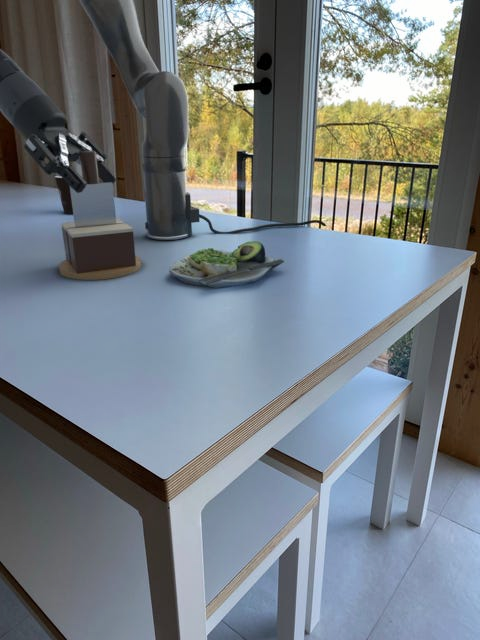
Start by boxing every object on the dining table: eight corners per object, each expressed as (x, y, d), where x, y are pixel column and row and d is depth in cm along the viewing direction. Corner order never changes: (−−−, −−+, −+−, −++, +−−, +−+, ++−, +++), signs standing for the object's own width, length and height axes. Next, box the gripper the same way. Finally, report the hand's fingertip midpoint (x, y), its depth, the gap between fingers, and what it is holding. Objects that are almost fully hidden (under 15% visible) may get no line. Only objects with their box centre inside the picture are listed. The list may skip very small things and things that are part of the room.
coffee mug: (86, 215, 131) (81, 177, 127) (55, 215, 131) (49, 177, 127) (98, 208, 142) (94, 173, 138) (69, 208, 142) (65, 173, 138)
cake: (128, 254, 94) (124, 215, 91) (151, 272, 82) (148, 229, 79) (53, 263, 87) (47, 222, 84) (67, 284, 76) (60, 238, 73)
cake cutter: (114, 222, 84) (107, 150, 80) (118, 224, 82) (111, 151, 78) (73, 225, 81) (63, 151, 77) (76, 228, 79) (66, 152, 75)
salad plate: (252, 301, 69) (252, 270, 68) (147, 286, 75) (144, 258, 74) (289, 266, 86) (290, 241, 84) (200, 256, 92) (200, 232, 90)
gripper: (8, 90, 70) (84, 174, 71) (69, 94, 82) (133, 165, 83) (-13, 129, 73) (60, 208, 74) (49, 127, 86) (110, 195, 87)
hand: (98, 185), depth 79 cm, fingers open, 8 cm apart
